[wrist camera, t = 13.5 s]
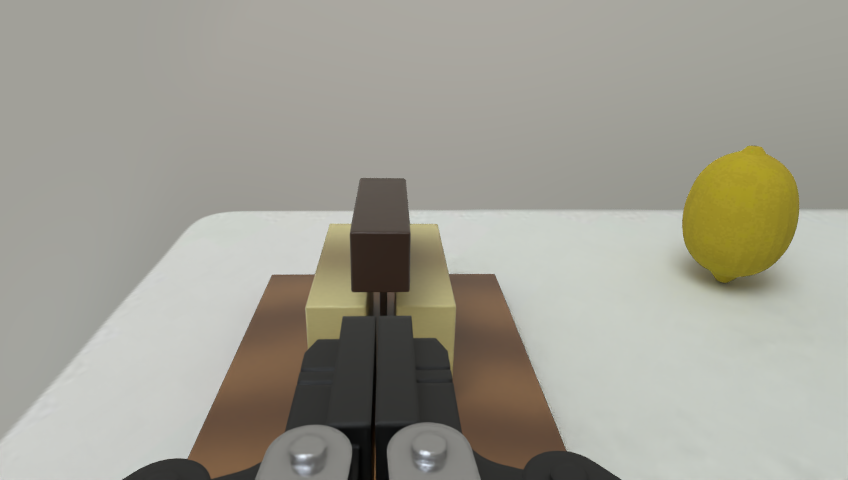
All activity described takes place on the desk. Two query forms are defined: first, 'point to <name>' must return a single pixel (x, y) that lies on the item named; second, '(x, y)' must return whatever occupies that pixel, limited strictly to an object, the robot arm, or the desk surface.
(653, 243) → the desk surface
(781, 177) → the lemon
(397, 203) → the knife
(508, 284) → the desk surface
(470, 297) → the butter board
